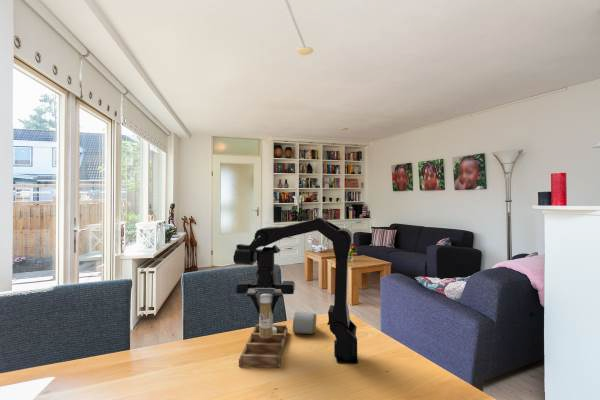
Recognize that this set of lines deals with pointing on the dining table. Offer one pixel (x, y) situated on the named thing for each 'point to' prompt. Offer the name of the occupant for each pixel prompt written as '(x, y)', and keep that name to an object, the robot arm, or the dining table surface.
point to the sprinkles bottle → (266, 316)
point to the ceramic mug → (304, 322)
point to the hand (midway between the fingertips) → (266, 313)
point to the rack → (264, 348)
